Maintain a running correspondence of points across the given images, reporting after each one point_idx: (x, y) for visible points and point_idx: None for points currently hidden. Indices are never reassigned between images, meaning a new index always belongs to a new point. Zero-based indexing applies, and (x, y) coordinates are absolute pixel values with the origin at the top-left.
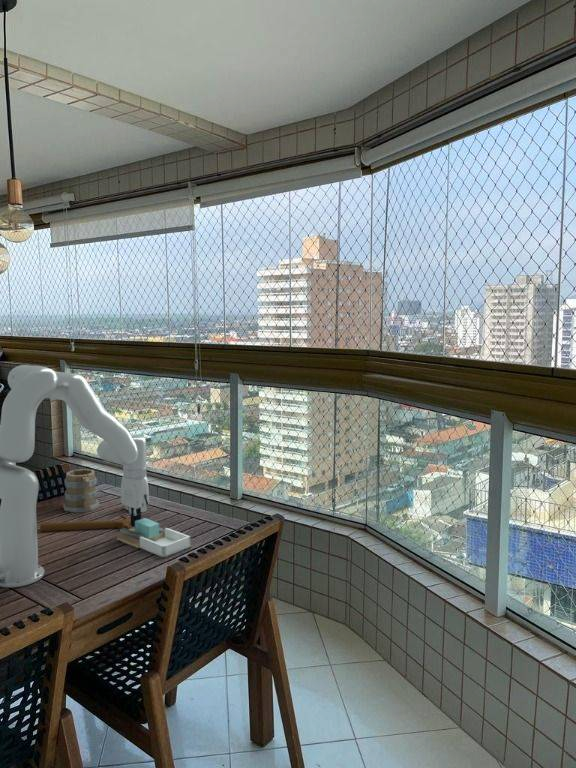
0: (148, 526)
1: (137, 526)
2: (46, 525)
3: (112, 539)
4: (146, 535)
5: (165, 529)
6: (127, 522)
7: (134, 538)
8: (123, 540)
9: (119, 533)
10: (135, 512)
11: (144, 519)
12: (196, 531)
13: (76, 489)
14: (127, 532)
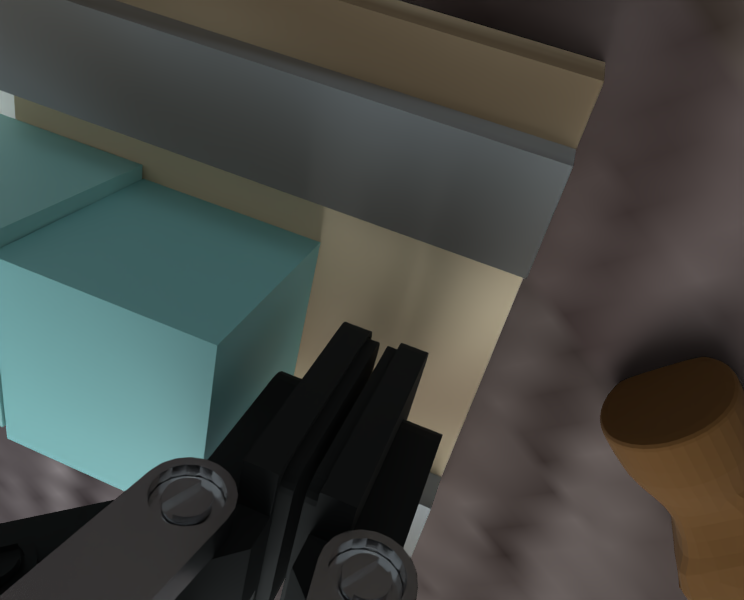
0: None
1: (191, 270)
2: None
3: (697, 24)
4: (13, 135)
5: None
6: (714, 570)
7: (143, 9)
8: (409, 6)
9: (554, 107)
10: (123, 519)
11: (139, 458)
12: (5, 522)
13: None
14: (324, 96)
